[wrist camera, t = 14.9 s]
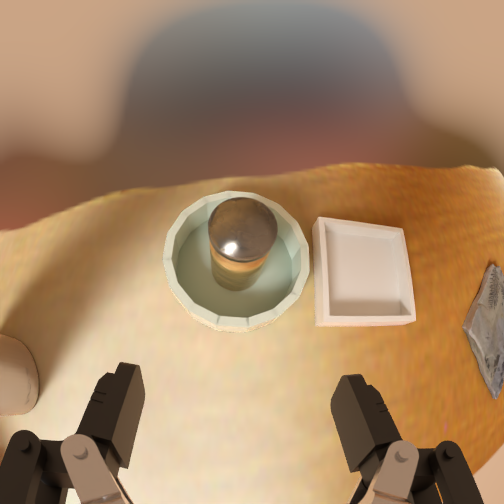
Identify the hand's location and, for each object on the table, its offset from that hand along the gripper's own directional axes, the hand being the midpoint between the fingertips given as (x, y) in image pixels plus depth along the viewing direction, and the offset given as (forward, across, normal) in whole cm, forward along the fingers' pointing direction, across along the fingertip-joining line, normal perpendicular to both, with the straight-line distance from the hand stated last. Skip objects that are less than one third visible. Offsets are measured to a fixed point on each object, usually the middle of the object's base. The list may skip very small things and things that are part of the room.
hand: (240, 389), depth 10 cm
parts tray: (+19, -14, +4) cm, 24 cm away
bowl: (+19, 0, +4) cm, 19 cm away
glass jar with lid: (+18, 0, +3) cm, 19 cm away
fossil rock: (+14, -40, +9) cm, 44 cm away
